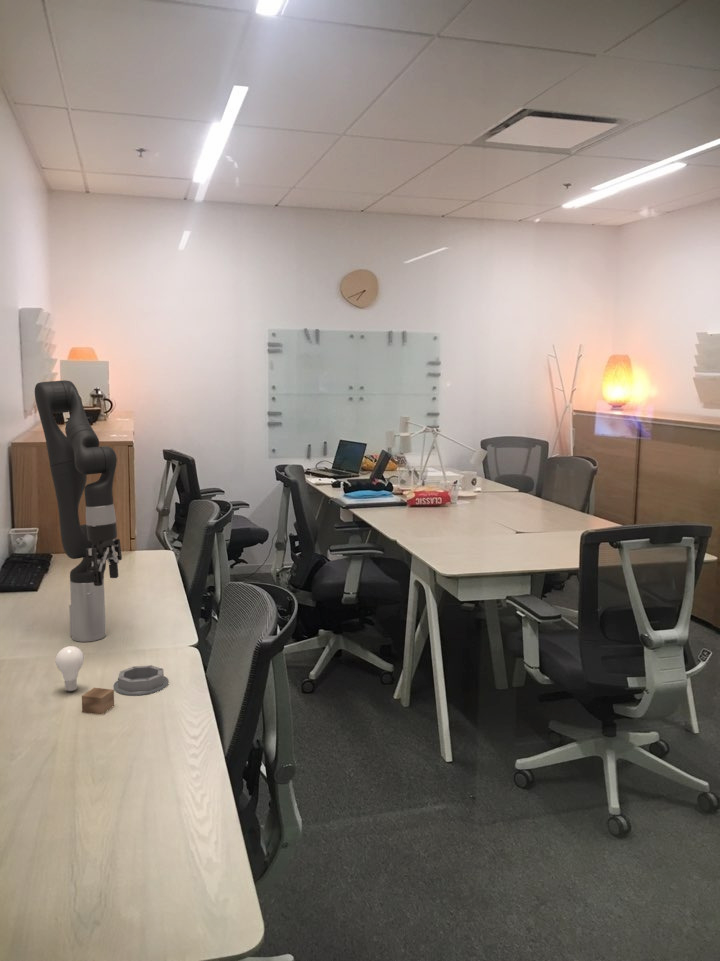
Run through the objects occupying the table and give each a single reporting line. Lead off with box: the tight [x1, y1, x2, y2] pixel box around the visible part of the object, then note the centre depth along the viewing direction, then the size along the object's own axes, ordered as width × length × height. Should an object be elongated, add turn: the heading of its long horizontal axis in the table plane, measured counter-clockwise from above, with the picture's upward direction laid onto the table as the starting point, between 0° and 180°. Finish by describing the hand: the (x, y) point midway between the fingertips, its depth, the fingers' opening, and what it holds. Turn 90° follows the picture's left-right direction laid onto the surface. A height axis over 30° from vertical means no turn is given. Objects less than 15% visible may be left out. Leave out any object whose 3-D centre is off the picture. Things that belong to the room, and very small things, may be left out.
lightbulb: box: [55, 645, 85, 692], centre depth 184 cm, size 6×6×11 cm
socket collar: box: [113, 664, 170, 697], centre depth 189 cm, size 13×13×3 cm
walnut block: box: [81, 687, 115, 715], centre depth 175 cm, size 5×5×4 cm
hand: (106, 581), depth 206 cm, fingers open, 8 cm apart
